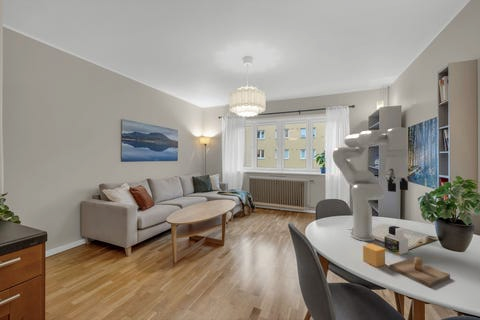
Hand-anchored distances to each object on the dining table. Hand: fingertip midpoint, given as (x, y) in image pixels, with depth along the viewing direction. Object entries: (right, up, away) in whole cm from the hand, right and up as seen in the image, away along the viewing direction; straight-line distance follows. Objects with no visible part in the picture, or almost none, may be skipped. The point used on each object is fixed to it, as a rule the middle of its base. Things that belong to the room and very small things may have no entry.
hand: (398, 190), depth 97 cm
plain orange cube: (-13, -32, -3) cm, 35 cm away
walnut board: (-1, -32, -12) cm, 34 cm away
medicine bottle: (+5, -32, +8) cm, 33 cm away
